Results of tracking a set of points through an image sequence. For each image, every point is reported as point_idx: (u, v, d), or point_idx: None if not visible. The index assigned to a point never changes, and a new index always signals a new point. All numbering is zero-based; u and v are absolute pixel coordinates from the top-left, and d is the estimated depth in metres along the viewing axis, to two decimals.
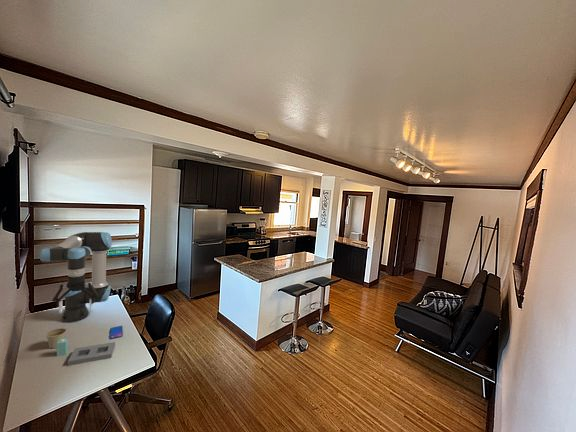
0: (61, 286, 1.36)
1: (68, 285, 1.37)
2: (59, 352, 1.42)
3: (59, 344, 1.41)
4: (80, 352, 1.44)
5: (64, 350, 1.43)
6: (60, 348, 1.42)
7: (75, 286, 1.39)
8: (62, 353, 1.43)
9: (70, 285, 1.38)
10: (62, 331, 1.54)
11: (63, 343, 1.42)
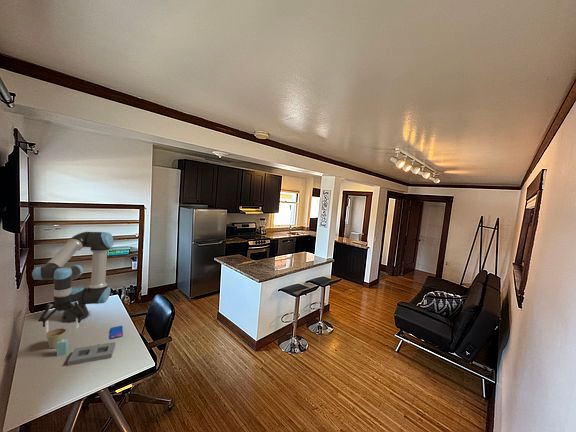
0: (47, 306, 1.37)
1: (54, 305, 1.39)
2: (59, 352, 1.42)
3: (59, 344, 1.41)
4: (80, 352, 1.44)
5: (64, 350, 1.43)
6: (60, 348, 1.42)
7: (61, 306, 1.40)
8: (62, 353, 1.43)
9: (56, 305, 1.39)
10: (62, 331, 1.54)
11: (63, 343, 1.42)
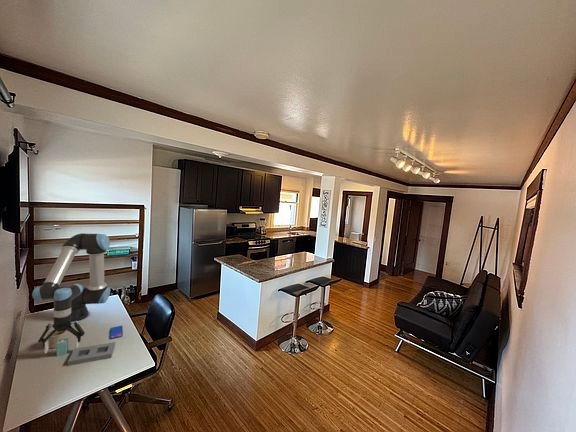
0: (47, 327, 1.39)
1: (54, 325, 1.40)
2: (59, 352, 1.42)
3: (59, 344, 1.41)
4: (80, 352, 1.44)
5: (64, 350, 1.43)
6: (60, 348, 1.42)
7: (61, 326, 1.41)
8: (62, 353, 1.43)
9: (56, 325, 1.40)
10: (62, 331, 1.54)
11: (63, 343, 1.42)
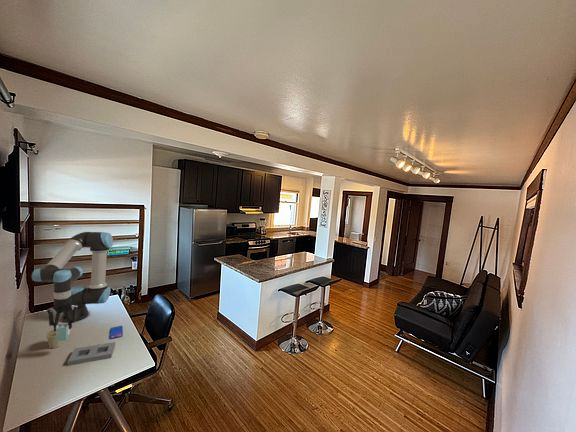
0: (48, 311, 1.38)
1: (54, 307, 1.39)
2: (59, 337, 1.41)
3: (59, 329, 1.41)
4: (80, 352, 1.44)
5: (64, 335, 1.42)
6: (61, 333, 1.41)
7: (61, 308, 1.41)
8: (62, 338, 1.42)
9: (56, 307, 1.39)
10: None
11: (64, 328, 1.42)
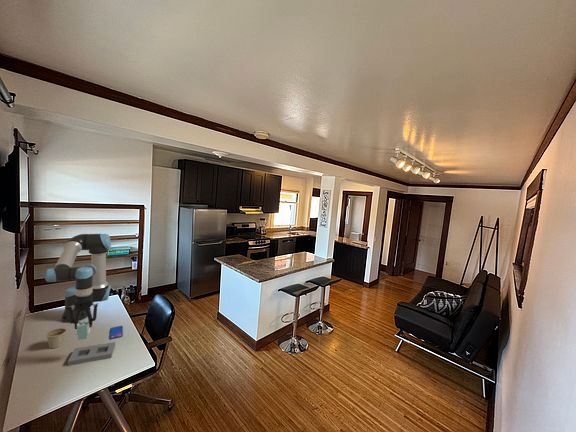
0: (70, 308, 1.36)
1: (75, 305, 1.38)
2: (80, 335, 1.39)
3: (80, 327, 1.39)
4: (80, 352, 1.44)
5: (85, 333, 1.40)
6: (81, 331, 1.39)
7: (83, 305, 1.39)
8: (83, 337, 1.40)
9: (77, 304, 1.38)
10: (62, 331, 1.54)
11: (84, 326, 1.40)
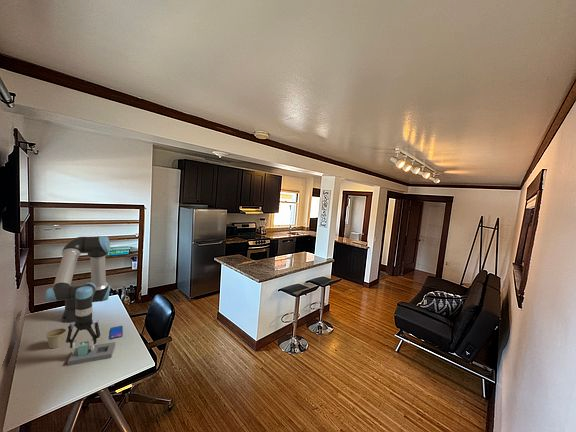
0: (69, 327, 1.37)
1: (76, 324, 1.39)
2: (80, 355, 1.40)
3: (80, 347, 1.40)
4: None
5: (85, 353, 1.41)
6: (81, 351, 1.40)
7: (83, 325, 1.40)
8: None
9: (77, 324, 1.39)
10: (62, 331, 1.54)
11: (84, 346, 1.41)
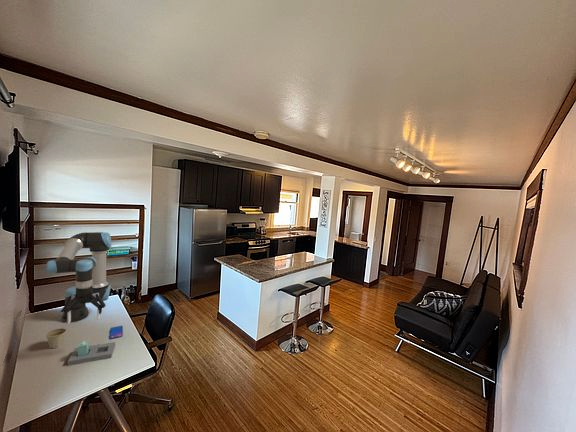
0: (69, 297, 1.39)
1: (76, 296, 1.40)
2: (80, 355, 1.40)
3: (80, 347, 1.40)
4: None
5: (85, 353, 1.41)
6: (81, 351, 1.40)
7: (83, 297, 1.42)
8: None
9: (78, 296, 1.40)
10: (62, 331, 1.54)
11: (84, 346, 1.41)
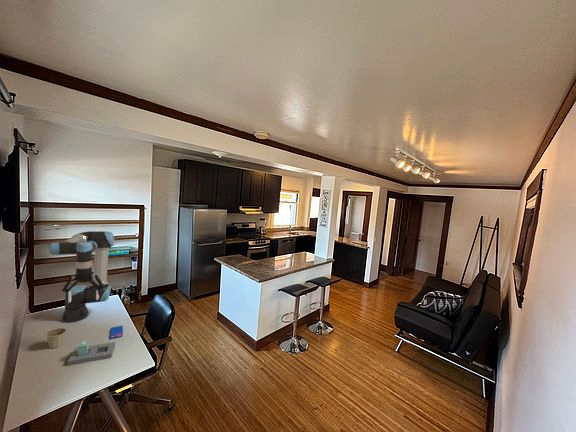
0: (70, 277, 1.46)
1: (76, 276, 1.47)
2: (80, 355, 1.40)
3: (80, 347, 1.40)
4: None
5: (85, 353, 1.41)
6: (81, 351, 1.40)
7: (83, 277, 1.49)
8: None
9: (78, 276, 1.48)
10: (62, 331, 1.54)
11: (84, 346, 1.41)
